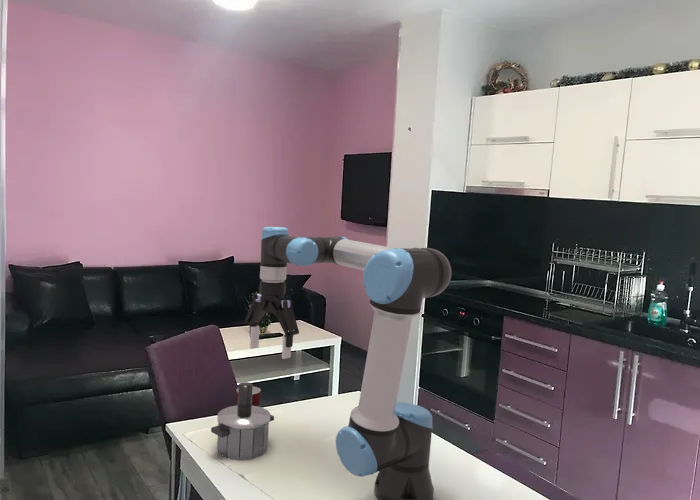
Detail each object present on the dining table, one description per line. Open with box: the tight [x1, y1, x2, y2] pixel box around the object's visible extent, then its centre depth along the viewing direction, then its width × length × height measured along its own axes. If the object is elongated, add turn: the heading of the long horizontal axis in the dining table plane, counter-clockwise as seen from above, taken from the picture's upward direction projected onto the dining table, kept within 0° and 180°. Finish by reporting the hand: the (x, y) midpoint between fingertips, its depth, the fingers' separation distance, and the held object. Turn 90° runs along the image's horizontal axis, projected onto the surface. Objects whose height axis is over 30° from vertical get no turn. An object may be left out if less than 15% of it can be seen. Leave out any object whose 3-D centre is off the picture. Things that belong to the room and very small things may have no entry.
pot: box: [210, 414, 275, 461], centre depth 166 cm, size 14×19×9 cm
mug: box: [235, 386, 262, 407], centre depth 186 cm, size 10×8×10 cm
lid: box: [217, 381, 271, 430], centre depth 165 cm, size 15×15×12 cm
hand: (269, 352), depth 166 cm, fingers open, 13 cm apart
